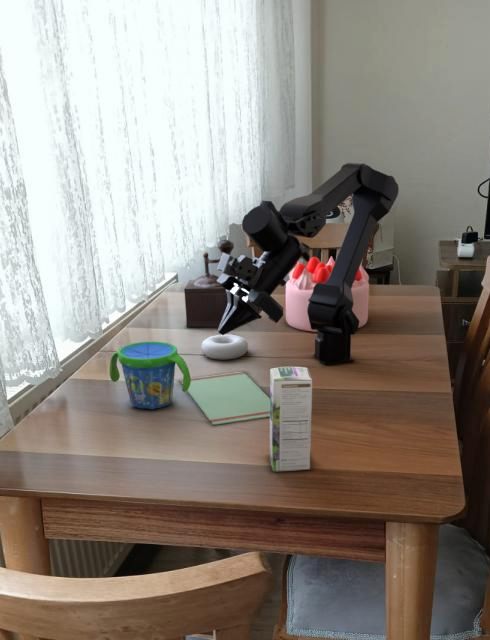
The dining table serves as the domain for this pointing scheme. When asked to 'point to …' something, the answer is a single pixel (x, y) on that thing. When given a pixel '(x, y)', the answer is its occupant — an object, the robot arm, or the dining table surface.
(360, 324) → the cake
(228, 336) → the donut
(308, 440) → the syrup box
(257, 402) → the green flat piece
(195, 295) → the manual coffee grinder
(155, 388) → the snack cup
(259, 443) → the dining table surface
